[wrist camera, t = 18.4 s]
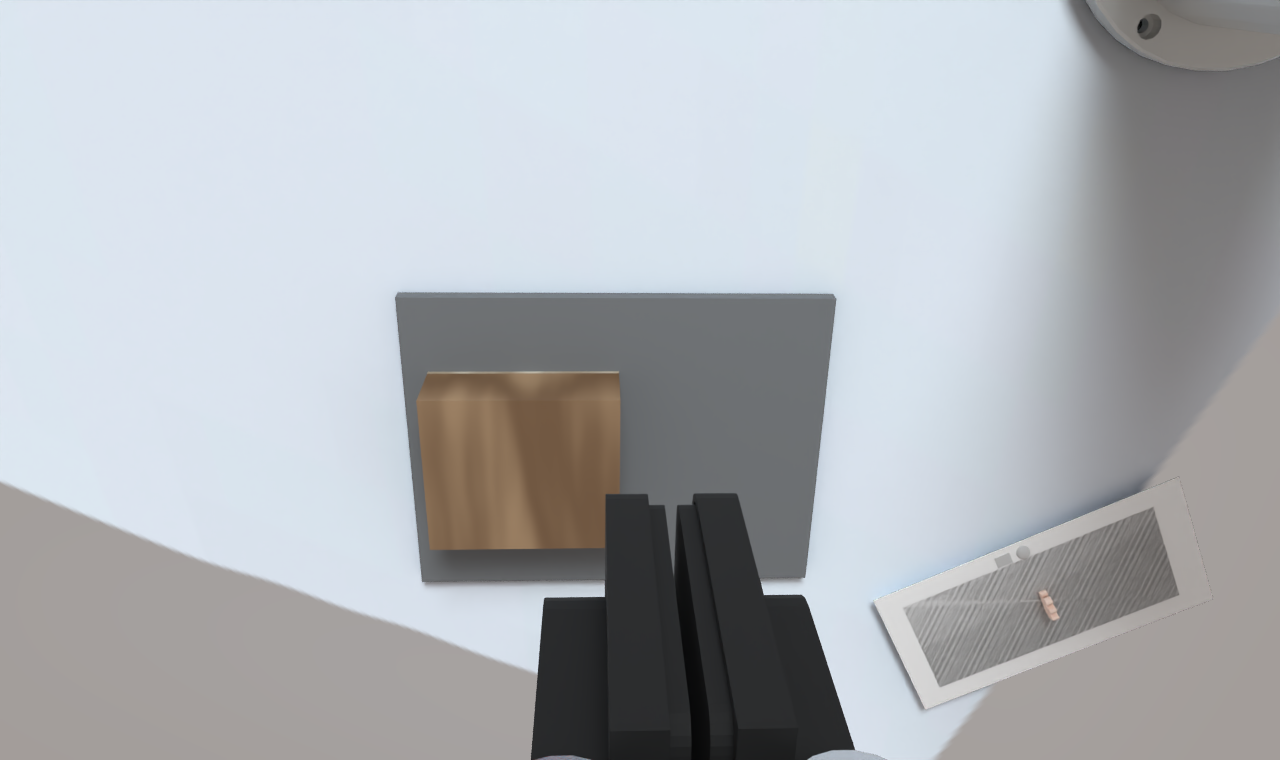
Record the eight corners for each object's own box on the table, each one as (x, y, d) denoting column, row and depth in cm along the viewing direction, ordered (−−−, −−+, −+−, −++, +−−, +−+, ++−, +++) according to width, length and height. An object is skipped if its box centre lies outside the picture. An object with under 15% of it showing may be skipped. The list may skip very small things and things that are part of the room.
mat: (832, 293, 39) (836, 299, 39) (802, 569, 45) (805, 577, 45) (398, 292, 39) (395, 297, 38) (424, 573, 44) (422, 581, 44)
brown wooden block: (620, 400, 37) (416, 400, 37) (619, 548, 40) (429, 549, 40) (618, 371, 40) (427, 371, 39) (617, 512, 43) (439, 513, 42)
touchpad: (1200, 585, 47) (1226, 613, 45) (918, 694, 49) (932, 725, 47) (1166, 464, 44) (1192, 488, 42) (867, 587, 46) (879, 615, 44)
